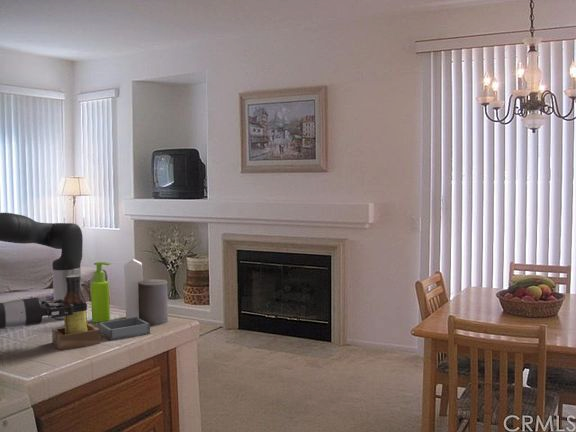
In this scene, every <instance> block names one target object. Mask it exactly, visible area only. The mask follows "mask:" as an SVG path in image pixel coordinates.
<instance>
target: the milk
mask: <svg viewBox="0 0 576 432" xmlns="http://www.w3.org/2000/svg"><path fill="white" fill-rule="evenodd" d="M131 255H132V258H131V259H129V260H128V261H126V262H124V265H123V269H124V272H123V273H124V299H125V300H124V301H125V302H124V303H125V305H124V306H125V319H127V318H133V317H137V318H139V295H138V282H140V281H144V278H143V263H142V262H141V261H139V260H137V259H135V258H134V253H133V254H131Z"/></svg>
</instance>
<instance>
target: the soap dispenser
mask: <svg viewBox="0 0 576 432" xmlns="http://www.w3.org/2000/svg"><path fill="white" fill-rule="evenodd" d="M93 265H94V266H96V271H94V273H93V277H94V278H93V279H94V281H92V282H90V301H91V302H90V304H91V321H92V322H94V323H101V322H107V321H111V314H110V312H111V310H110V309H111V308H110V282H109V281H108V280H106V276H105V275H106V273H105V271H103V267H102V266H103V265H105V266H109V265H111V262H107V261H98V262H94V263H93Z"/></svg>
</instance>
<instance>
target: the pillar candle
mask: <svg viewBox="0 0 576 432" xmlns="http://www.w3.org/2000/svg"><path fill="white" fill-rule="evenodd" d="M138 295H139V319H141V320H143V321H145V322H147V323H149V324H150V326H160V325H163V324H167V323H168V321H169V318H168V317H169V304H168V303H169V302H168V280H166V279H153V277H152V278H151V279H145V280H144V279H143V281H140V282H138Z"/></svg>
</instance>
